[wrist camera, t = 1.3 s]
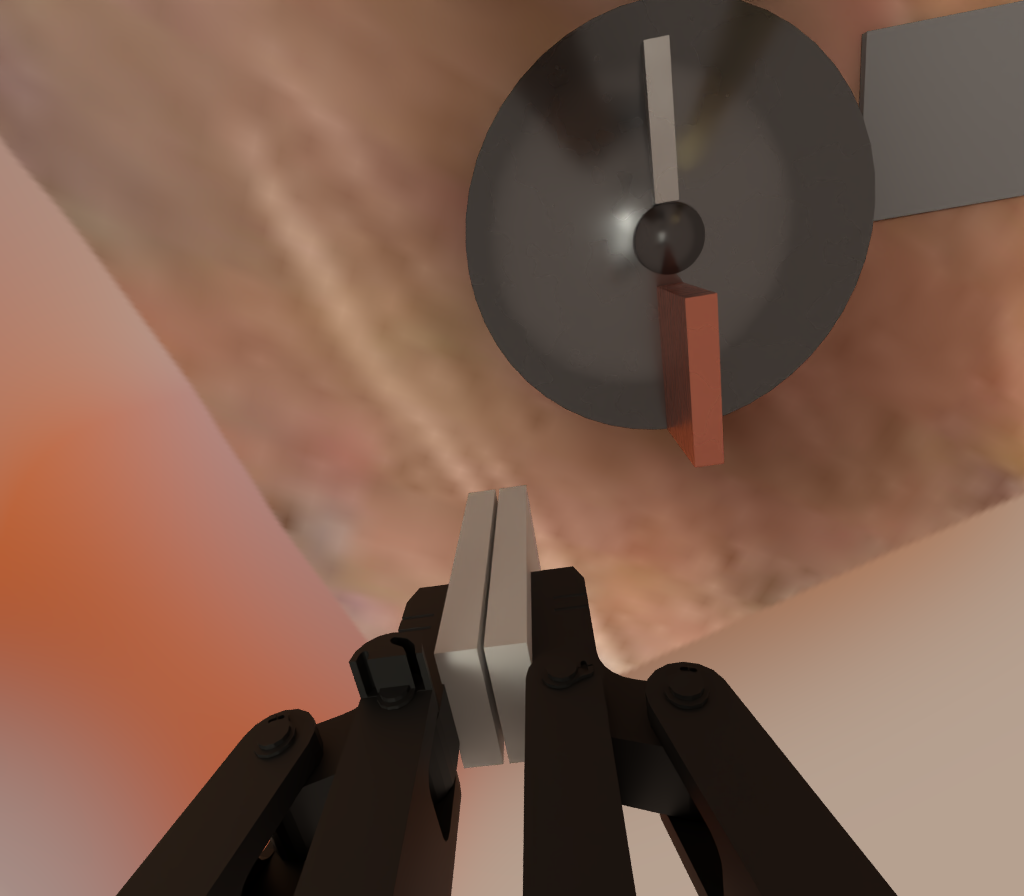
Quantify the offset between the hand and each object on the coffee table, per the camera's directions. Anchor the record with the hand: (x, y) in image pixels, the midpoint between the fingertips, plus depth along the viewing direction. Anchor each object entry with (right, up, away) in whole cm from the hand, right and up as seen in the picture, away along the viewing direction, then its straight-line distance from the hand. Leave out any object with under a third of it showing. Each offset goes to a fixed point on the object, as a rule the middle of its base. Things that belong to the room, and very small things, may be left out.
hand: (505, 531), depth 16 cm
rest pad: (+20, +18, +10) cm, 29 cm away
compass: (+7, +12, +11) cm, 18 cm away
